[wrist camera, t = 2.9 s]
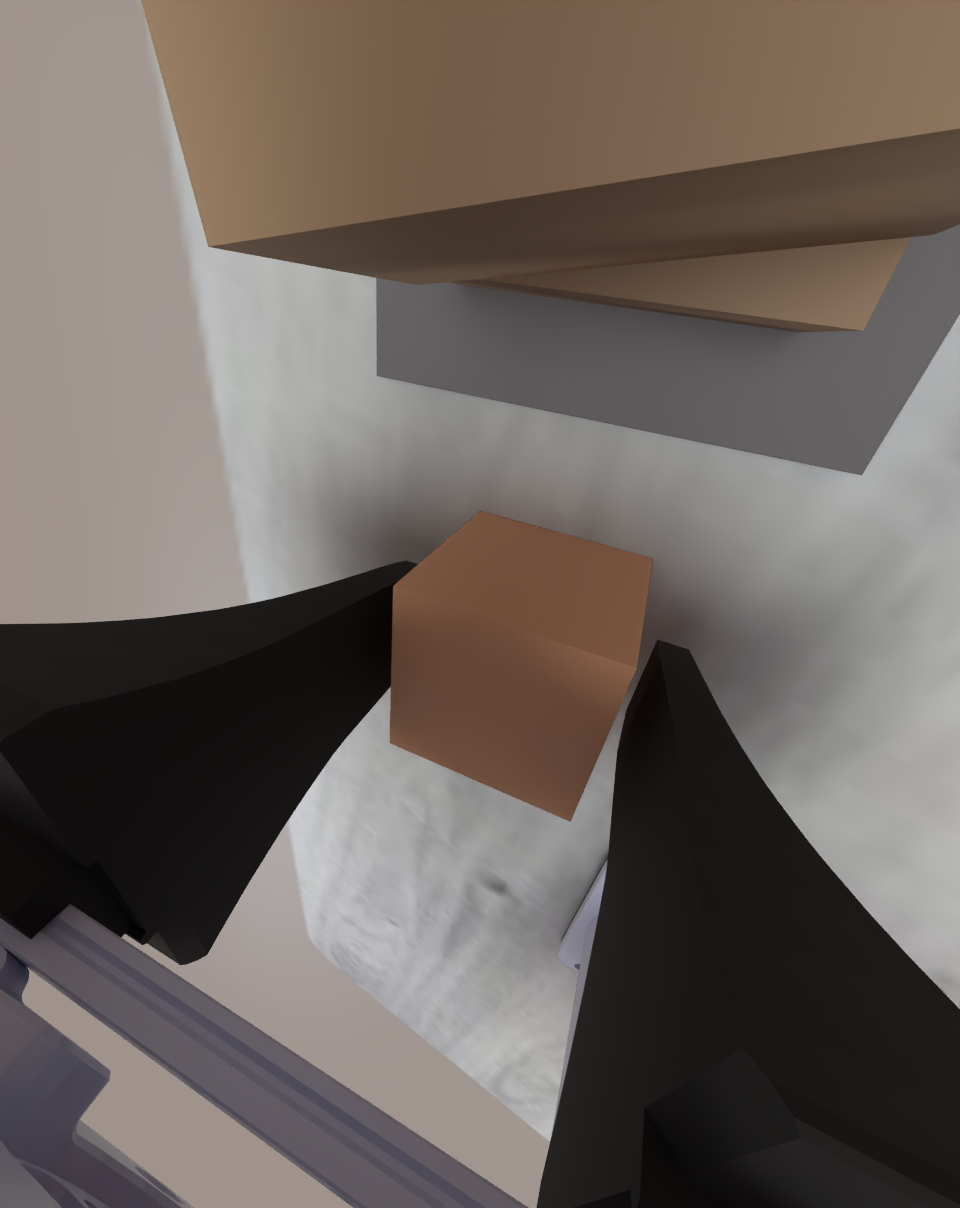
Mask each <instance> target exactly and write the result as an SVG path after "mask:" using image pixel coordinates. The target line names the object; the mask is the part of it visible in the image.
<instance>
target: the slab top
mask: <svg viewBox="0 0 960 1208" xmlns="http://www.w3.org/2000/svg"><path fill="white" fill-rule="evenodd" d="M141 1H142V5H143V8H144V12H145V16H146V19H147V23H148V27H149V30H150V34H151V38H152V41H153V45H154V49H155V52H156V56H157V60H158V63H159V67H160V71H161V74H162V78H163V82H164V85H165V89H166V93H167V96H168V100H169V104H170V107H171V111H172V115H173V118H174V122H175V126H176V129H177V133H178V137H179V140H180V144H181V148H182V151H183V155H184V159H185V162H186V166H187V170H188V174H189V177H190V181H191V185H192V188H193V192H194V196H195V199H196V203H197V207H198V210H199V214H200V218H201V221H202V225H203V229H204V232H205V236H206V240H207V243H208V247H213V248H218V249H224V250H229V251H234V252H240V253H245V254H251V255H256V256H262V257H267V258H272V259H278V260H283V261H289V262H294V263H299V264H305V265H310V266H316V267H321V268H327V269H332V270H337V271H343V272H348V273H354V274H359V275H364V276H370V277H375V278H381V279H386V280H391V281H397V282H402V283H408V284H413V285H422V284H433V283H443V282H453V281H464V280H474V279H484V278H495V277H505V276H515V275H525V274H536V273H546V272H556V271H567V270H577V269H587V268H598V267H608V266H618V265H629V264H639V263H649V262H659V261H670V260H680V259H690V258H701V257H711V256H721V255H732V254H742V253H752V252H763V251H773V250H783V249H793V248H804V247H814V246H824V245H835V244H845V243H855V242H866V241H876V240H886V239H897V238H907V237H917V236H928V235H934V234H937V233H939V232H942V231H944V230H947V229H949V228H952V227H954V226H957V225H959V224H960V0H141Z"/></svg>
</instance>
